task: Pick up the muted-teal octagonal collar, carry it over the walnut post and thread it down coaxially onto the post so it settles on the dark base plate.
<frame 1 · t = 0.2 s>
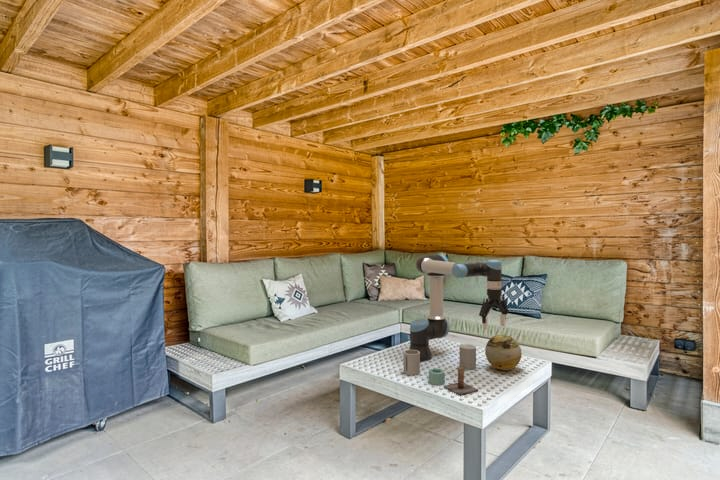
hand: (494, 327, 225), 28 cm above the table, fingers open, 13 cm apart
post stand: (460, 389, 210), on the table
beige speckled cylinder: (467, 367, 244), on the table
decorative sphere: (503, 369, 240), on the table
collar: (436, 382, 221), on the table
cup: (411, 373, 235), on the table
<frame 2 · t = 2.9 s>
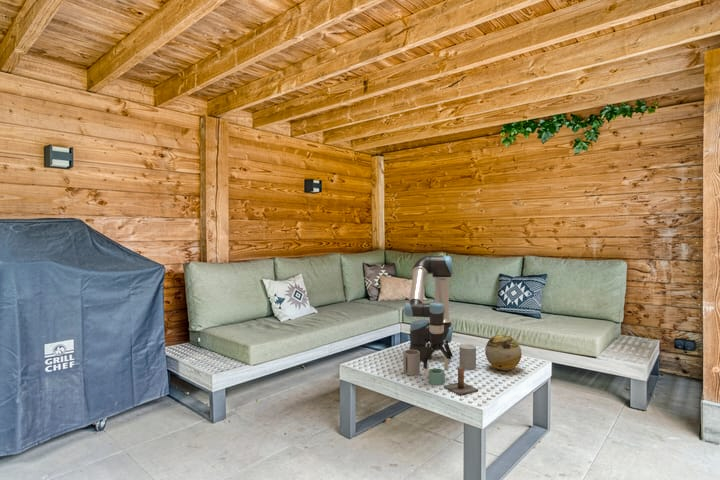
hand: (436, 372, 220), 5 cm above the table, fingers open, 13 cm apart
nothing on the table moved.
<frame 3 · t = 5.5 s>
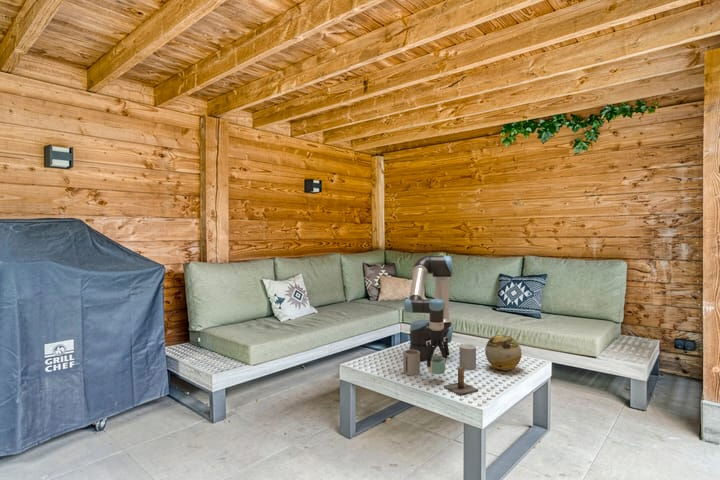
hand: (436, 370, 221), 6 cm above the table, fingers closed on collar, 8 cm apart
collar: (436, 371, 221), point 6 cm above the table, touching gripper
everything else where it was.
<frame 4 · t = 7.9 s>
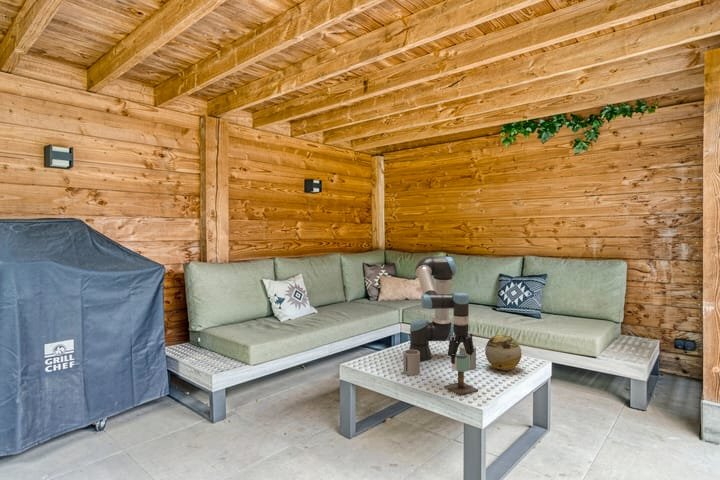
hand: (460, 368, 210), 11 cm above the table, fingers closed on collar, 8 cm apart
collar: (461, 368, 210), point 11 cm above the table, touching gripper
everything else where it was.
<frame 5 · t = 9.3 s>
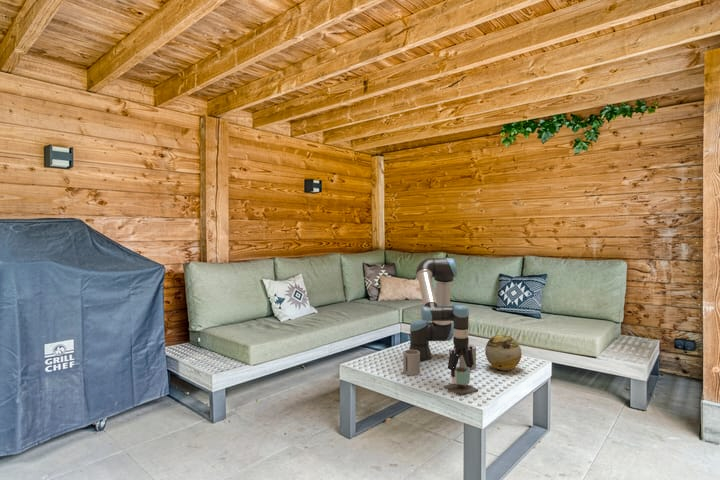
hand: (460, 381, 210), 4 cm above the table, fingers closed on collar, 8 cm apart
collar: (460, 381, 210), point 4 cm above the table, touching gripper
everything else where it was.
when the fingers open (3 cm above the table, at t = 10.5 s): collar drops 2 cm, resting on post stand.
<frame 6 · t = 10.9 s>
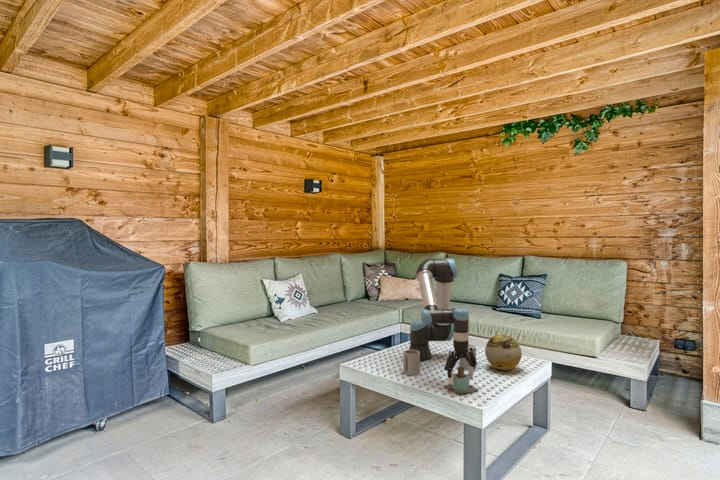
hand: (460, 381, 210), 4 cm above the table, fingers open, 13 cm apart
collar: (460, 387, 210), point 1 cm above the table, touching post stand
everything else where it was.
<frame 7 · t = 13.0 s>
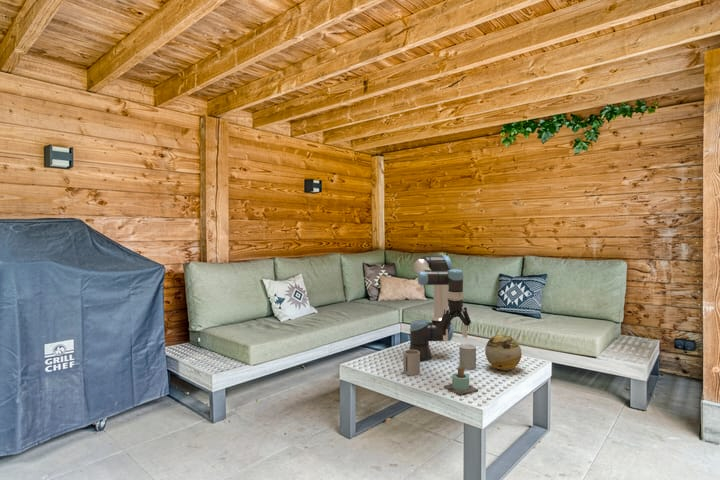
hand: (455, 339, 218), 23 cm above the table, fingers open, 13 cm apart
nothing on the table moved.
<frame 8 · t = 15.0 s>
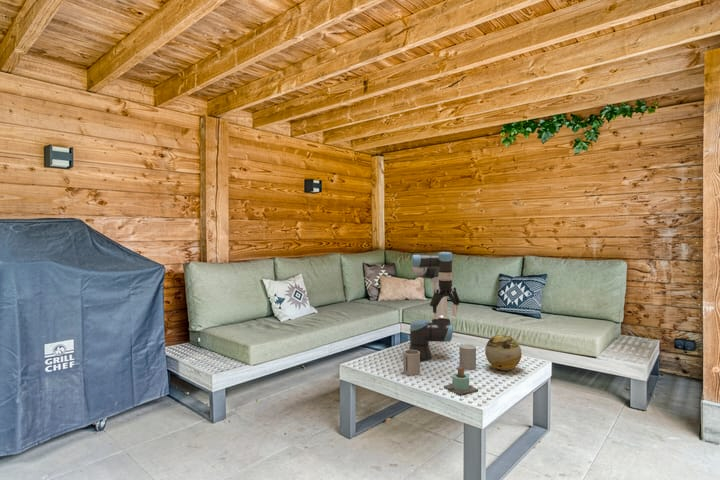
hand: (445, 317, 233), 32 cm above the table, fingers open, 13 cm apart
nothing on the table moved.
at the end: collar 0.1 cm off-centre on the post stand, point 1.0 cm above the post stand's base; the gripper is holding nothing; collar tilted 0° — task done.
